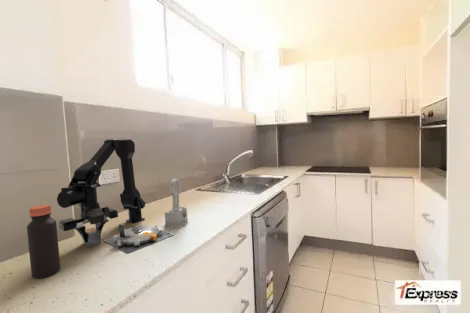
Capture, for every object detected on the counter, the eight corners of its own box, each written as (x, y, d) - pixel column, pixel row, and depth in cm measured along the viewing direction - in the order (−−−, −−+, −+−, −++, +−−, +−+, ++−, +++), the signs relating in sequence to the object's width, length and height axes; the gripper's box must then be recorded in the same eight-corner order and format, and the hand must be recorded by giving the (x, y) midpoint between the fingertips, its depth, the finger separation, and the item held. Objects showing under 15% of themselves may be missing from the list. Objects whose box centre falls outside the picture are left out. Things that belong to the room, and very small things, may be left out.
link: (83, 243, 93) (82, 230, 93) (94, 240, 96) (93, 227, 96) (89, 247, 89) (88, 233, 89) (101, 243, 92) (100, 230, 92)
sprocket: (109, 250, 85) (108, 232, 84) (118, 232, 102) (116, 217, 101) (162, 241, 90) (161, 224, 90) (162, 226, 107) (161, 211, 107)
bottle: (44, 267, 76) (38, 204, 74) (65, 266, 75) (60, 203, 74) (25, 279, 69) (18, 210, 68) (48, 279, 69) (41, 209, 67)
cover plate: (103, 241, 94) (103, 240, 94) (147, 226, 109) (147, 226, 109) (127, 253, 82) (127, 253, 82) (173, 235, 97) (173, 234, 97)
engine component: (161, 226, 108) (182, 227, 106) (158, 181, 107) (179, 181, 105) (172, 218, 119) (191, 219, 117) (169, 177, 118) (189, 177, 116)
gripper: (67, 209, 79) (71, 256, 80) (123, 197, 94) (126, 237, 95) (56, 205, 86) (60, 247, 87) (110, 194, 101) (113, 231, 102)
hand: (92, 240), depth 93 cm, fingers closed on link, 4 cm apart
